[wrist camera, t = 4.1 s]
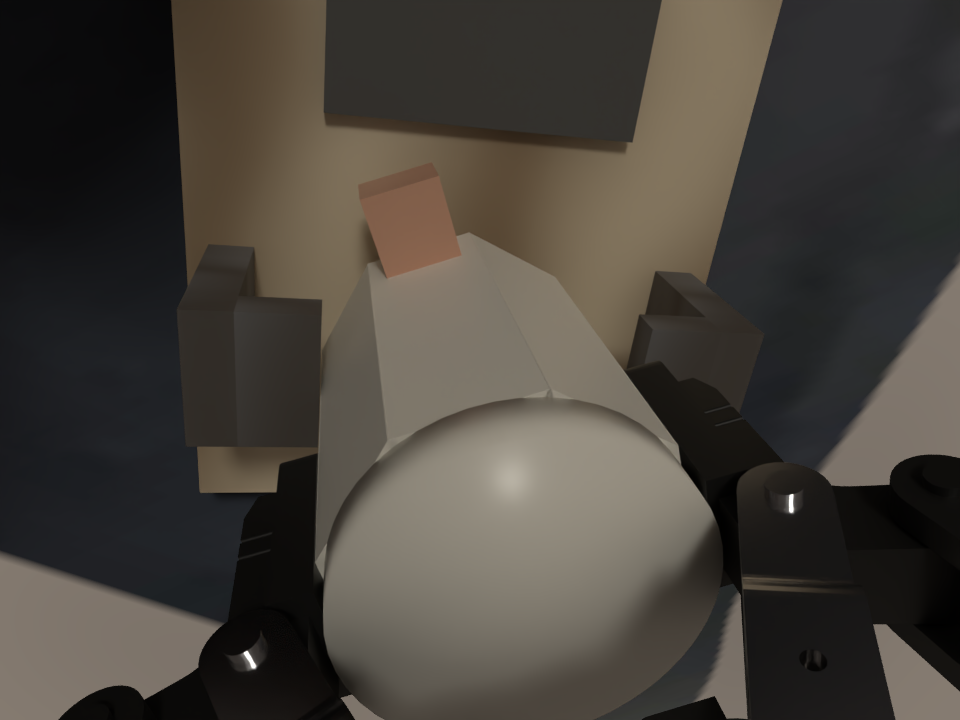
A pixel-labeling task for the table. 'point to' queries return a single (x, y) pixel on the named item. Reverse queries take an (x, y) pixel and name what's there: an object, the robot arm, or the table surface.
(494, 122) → the mat
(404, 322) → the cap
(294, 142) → the bulb mounting plate
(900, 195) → the table surface
